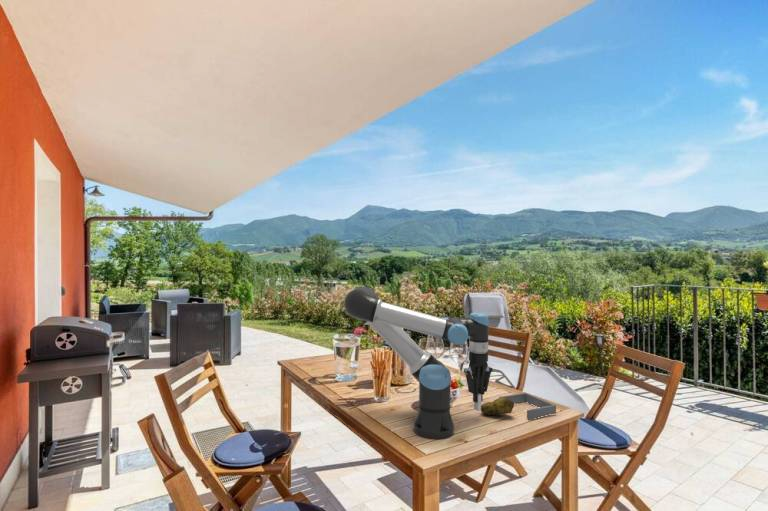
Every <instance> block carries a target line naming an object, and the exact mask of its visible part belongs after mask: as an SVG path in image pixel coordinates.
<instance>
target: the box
mask: <svg viewBox="0 0 768 511" xmlns="http://www.w3.org/2000/svg"><path fill="white" fill-rule="evenodd" d="M503 397H506V398H508V399H510V400H511V401H513V403H518V404H521V403H520V402H524V403H526V402H528V403H530V404H533V405H535V406H537V407H540V408H537V407H535V406H534V407H535V408H529V409H527V411H526V420H527V419H528V420H527V421H531V420H530V419H533V420H535V419H534V418H538V417H541V416H545V415H549V414H554V413H556V414H557V405H556V404H555V403H551V402H549V401H546V400H545V399H542V398H539V397H537V396H534V395H532V394H530V393H527V392H521V393H515V394H510V395H503V396H499V397H498V398H503ZM528 403H527V404H528ZM530 404H529V405H530ZM533 405H532V406H533ZM538 419H539V418H538Z"/></svg>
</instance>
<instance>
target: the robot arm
mask: <svg viewBox="0 0 768 511" xmlns="http://www.w3.org/2000/svg"><path fill="white" fill-rule="evenodd" d="M343 306H344V308H343V309H344V311H345V312H346V314H347V315H348V316H350V317H351V318H354V319H357V320H359V321H360V322H361V323H362V324H363V325H365V326H366V325H367V326H369V327H371V328H372V329H373V331H375V332H376V333H377V334H378V335H379V337H380V338H381V339H382V340H383V341H384V342H385V343H386V344H387V345H388V346H389V347H390V348H391V349H392V351H394V352H395V353H396V354H397V355H398V356H399V358H400V359H402V361H403V362H404V363H405V364H406V365H407V366H408V367H409V370H410V372H409V373H410V375H412V377H413V378H415V380H416V381H417V383H419V384H418V385H419V387H418V410H417V413H416V416H415V419H414V421H413V431H414V433H415V434H416V435H418V436H420V437H423V438H427V439H432V440H443V439H447V438H450V437H452V436H453V435H454V434H455V425H454V422H453V418H452V414H451V382H452V376H451V371H450V370H449V368H448V367H446V366H445V364H444V363H443V362H442V361H440V360H439V359H437V358H436V357H435V356H434V355H433V354H432V353H431V352H425V351H424V350H423V349H422V348H421V347H420V346H419V345H418V344H417V343H416V342H415V341H414V340H413V338H411V337H410V335H409V334H408V333H407V332H406V331H405V330H404V329H406V330H409V331H412V332H417V333H420V334H424V335H426V336H432V337H434V338H439V339H441V340H444V341H448V342H450V343H452V344H453V345H455V346H460V345H463V344H465V342H467V340H468V339H469V341H468V350H469V353H468V360H469V364H468V367H467V369H464V370H463V372H464V373H463V374H464V375H465V380H466V385H467V389H468V392H469V393H471V394H472V402H473V410H475V411H478V412H481V405H482V402H483V398H484V397H483V396H484V395H485V392H488V389H489V388H488V387H489V382H490V378H491V373H492V372H493V367H491V366H489V364H488V362H489V352H488V351H489V332H490V331H489V330H490V324H489V323H490V322H489V315H488V314H487V313H484V312H470V314H469V317H453V316H452V317H450V316H447V317H446V316H445V317H439V316H435V315H432V314H428V313H424V312H421V311H417V310H413V309H411V308H410V309H409V308H407V307H403V306H398V305H396V304H393V303H388V302H385V301H383V300H382V299H381V298H380V297H378V296H377V293H376V292H375V291H374V290H373V289H372V288H369V287H368V286H358V287H355V288H354V289H352V290H350V291H349V292H348V293H347V294H346V296H345V298H344V300H343Z"/></svg>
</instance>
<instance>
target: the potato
mask: <svg viewBox="0 0 768 511" xmlns="http://www.w3.org/2000/svg"><path fill="white" fill-rule="evenodd" d="M514 406H515V404H514V403H513V401H511V400H510V399H508V398H506V397H503V398H499V397H498V398H496V399H494V400H493V401H489V402H485V403H481V411H480V412H481V413H482V414H484V415H489V416H502V415H506V414H512V411H513V409H514Z"/></svg>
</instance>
